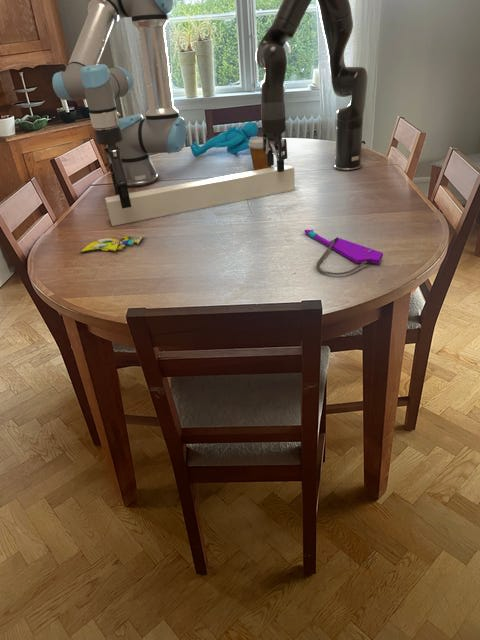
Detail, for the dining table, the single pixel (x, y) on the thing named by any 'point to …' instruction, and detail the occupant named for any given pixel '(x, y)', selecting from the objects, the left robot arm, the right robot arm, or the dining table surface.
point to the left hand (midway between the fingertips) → (123, 200)
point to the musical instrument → (347, 252)
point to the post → (200, 194)
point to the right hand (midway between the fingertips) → (275, 168)
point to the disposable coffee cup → (258, 153)
